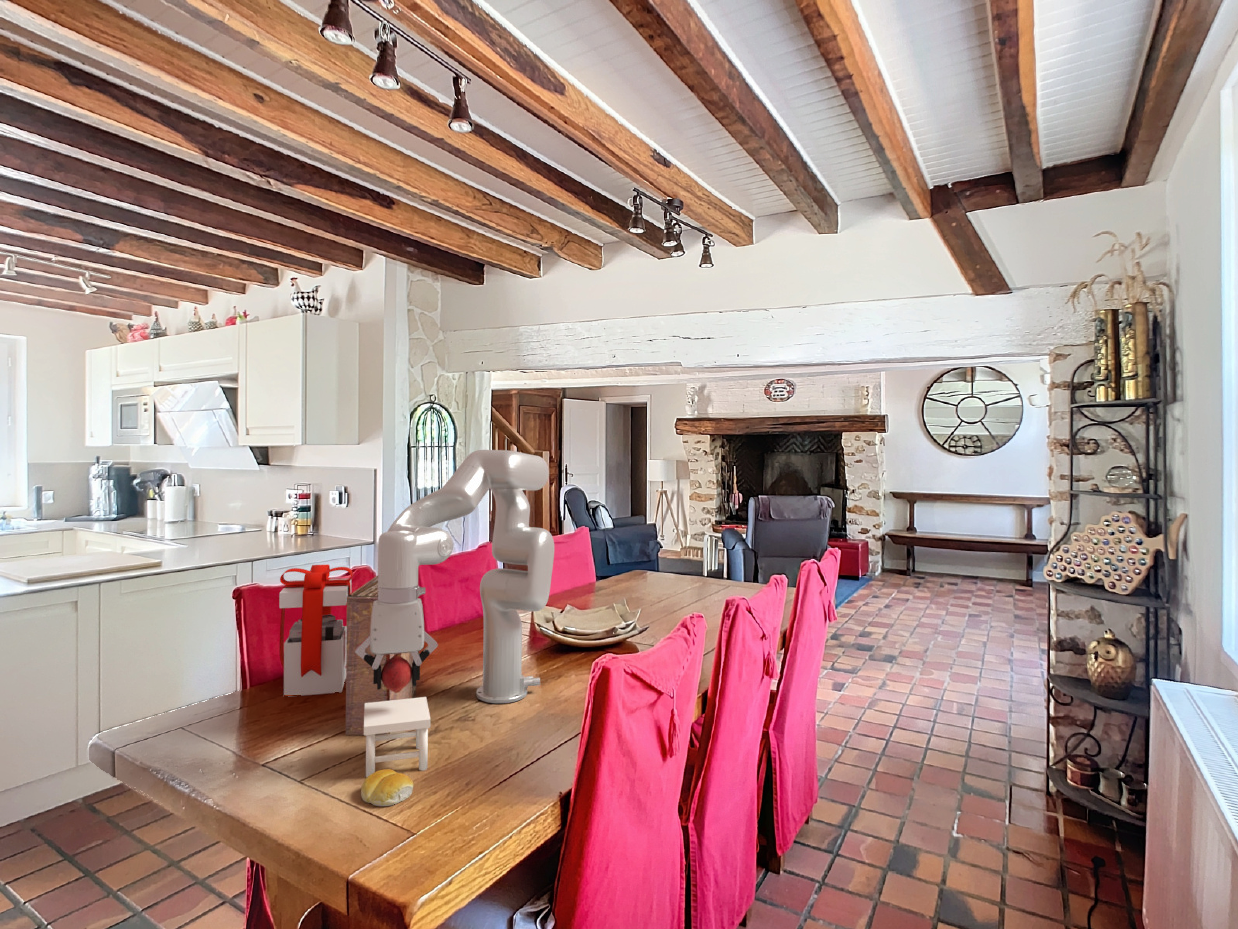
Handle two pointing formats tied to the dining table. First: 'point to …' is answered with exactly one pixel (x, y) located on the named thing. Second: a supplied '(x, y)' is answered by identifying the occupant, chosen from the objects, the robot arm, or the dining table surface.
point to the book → (358, 669)
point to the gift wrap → (314, 632)
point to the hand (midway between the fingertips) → (396, 684)
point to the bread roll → (386, 788)
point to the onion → (396, 673)
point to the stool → (396, 728)
